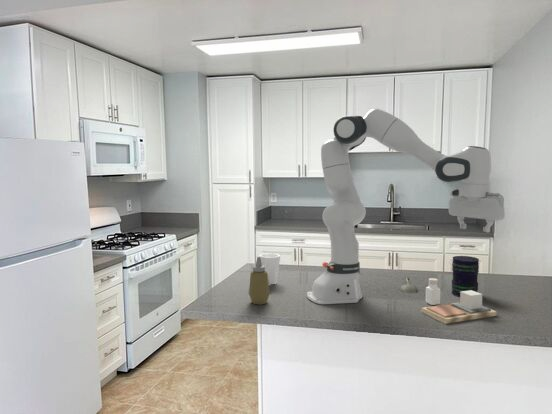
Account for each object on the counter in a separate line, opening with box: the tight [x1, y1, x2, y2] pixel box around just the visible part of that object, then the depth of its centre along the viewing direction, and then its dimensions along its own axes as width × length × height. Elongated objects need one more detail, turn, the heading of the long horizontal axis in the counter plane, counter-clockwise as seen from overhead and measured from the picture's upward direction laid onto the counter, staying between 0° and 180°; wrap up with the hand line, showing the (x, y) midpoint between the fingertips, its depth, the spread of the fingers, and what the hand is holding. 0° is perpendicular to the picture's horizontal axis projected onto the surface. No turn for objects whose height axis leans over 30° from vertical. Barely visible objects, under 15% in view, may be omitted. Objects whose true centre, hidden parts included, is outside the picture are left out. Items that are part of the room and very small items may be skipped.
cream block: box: [459, 290, 483, 309], centre depth 143 cm, size 5×5×5 cm
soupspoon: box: [400, 276, 418, 294], centre depth 177 cm, size 22×3×7 cm
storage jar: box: [451, 255, 480, 298], centre depth 164 cm, size 10×10×15 cm
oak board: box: [420, 301, 497, 325], centre depth 142 cm, size 22×12×2 cm, turn 109°
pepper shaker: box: [425, 277, 441, 306], centre depth 153 cm, size 4×4×10 cm
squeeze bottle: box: [248, 256, 271, 305], centre depth 155 cm, size 8×8×18 cm
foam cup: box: [258, 252, 281, 285], centre depth 182 cm, size 10×9×13 cm
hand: (474, 230), depth 144 cm, fingers open, 8 cm apart
